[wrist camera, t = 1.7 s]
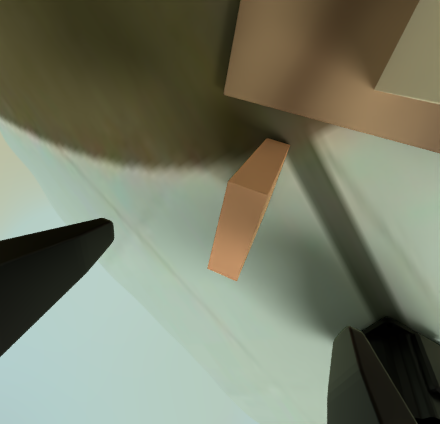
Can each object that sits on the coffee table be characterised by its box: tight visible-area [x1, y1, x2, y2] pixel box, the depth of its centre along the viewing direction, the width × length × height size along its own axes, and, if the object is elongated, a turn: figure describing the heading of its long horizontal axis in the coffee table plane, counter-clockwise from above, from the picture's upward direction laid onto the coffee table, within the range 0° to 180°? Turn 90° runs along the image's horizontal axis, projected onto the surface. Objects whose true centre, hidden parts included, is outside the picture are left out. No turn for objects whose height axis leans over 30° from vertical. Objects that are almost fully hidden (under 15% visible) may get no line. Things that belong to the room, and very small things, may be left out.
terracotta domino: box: [207, 138, 290, 281], centre depth 13 cm, size 2×5×8 cm, turn 166°
